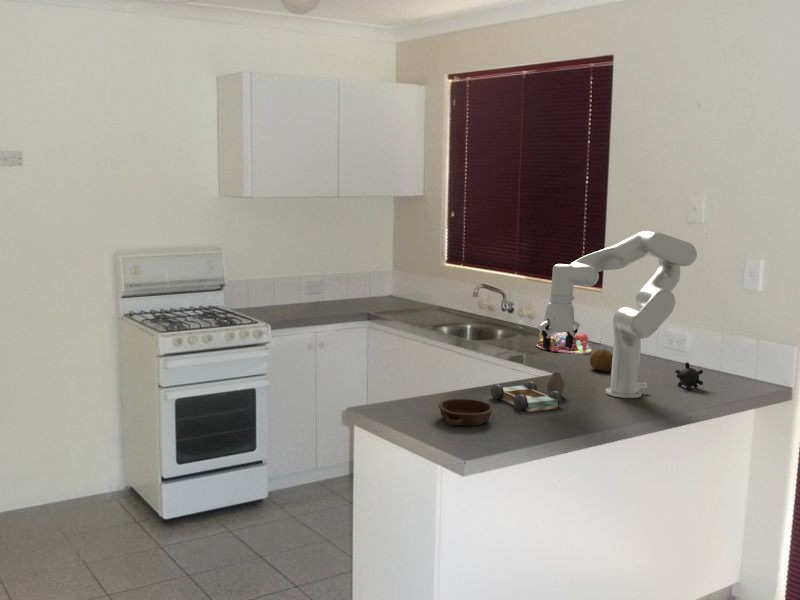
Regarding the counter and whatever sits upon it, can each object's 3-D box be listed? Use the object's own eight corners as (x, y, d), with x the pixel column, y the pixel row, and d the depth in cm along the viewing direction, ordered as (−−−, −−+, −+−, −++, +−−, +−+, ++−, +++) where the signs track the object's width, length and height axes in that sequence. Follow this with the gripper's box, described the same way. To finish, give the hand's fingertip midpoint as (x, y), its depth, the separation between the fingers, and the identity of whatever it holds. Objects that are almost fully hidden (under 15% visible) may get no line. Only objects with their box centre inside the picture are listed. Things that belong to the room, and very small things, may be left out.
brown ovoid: (549, 392, 312) (551, 369, 310) (567, 396, 308) (569, 371, 307) (542, 396, 306) (543, 372, 304) (560, 400, 302) (562, 375, 301)
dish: (423, 423, 268) (424, 408, 267) (456, 408, 287) (456, 393, 286) (475, 434, 260) (475, 418, 259) (504, 417, 278) (505, 402, 278)
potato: (611, 375, 343) (613, 353, 342) (584, 370, 351) (586, 348, 349) (621, 372, 349) (623, 351, 348) (594, 367, 357) (596, 346, 356)
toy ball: (694, 386, 317) (667, 373, 324) (696, 400, 325) (669, 387, 332) (709, 366, 320) (681, 353, 327) (710, 381, 328) (683, 368, 335)
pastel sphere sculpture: (538, 352, 382) (539, 332, 381) (532, 342, 406) (533, 322, 404) (595, 355, 382) (597, 334, 380) (586, 345, 405) (587, 325, 404)
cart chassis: (527, 393, 310) (528, 379, 309) (562, 407, 292) (563, 393, 291) (489, 397, 302) (490, 383, 302) (523, 412, 285) (524, 397, 284)
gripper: (574, 297, 309) (570, 344, 311) (534, 298, 301) (531, 347, 303) (588, 300, 302) (584, 349, 305) (547, 302, 294) (544, 351, 297)
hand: (557, 348), depth 304 cm, fingers open, 9 cm apart
